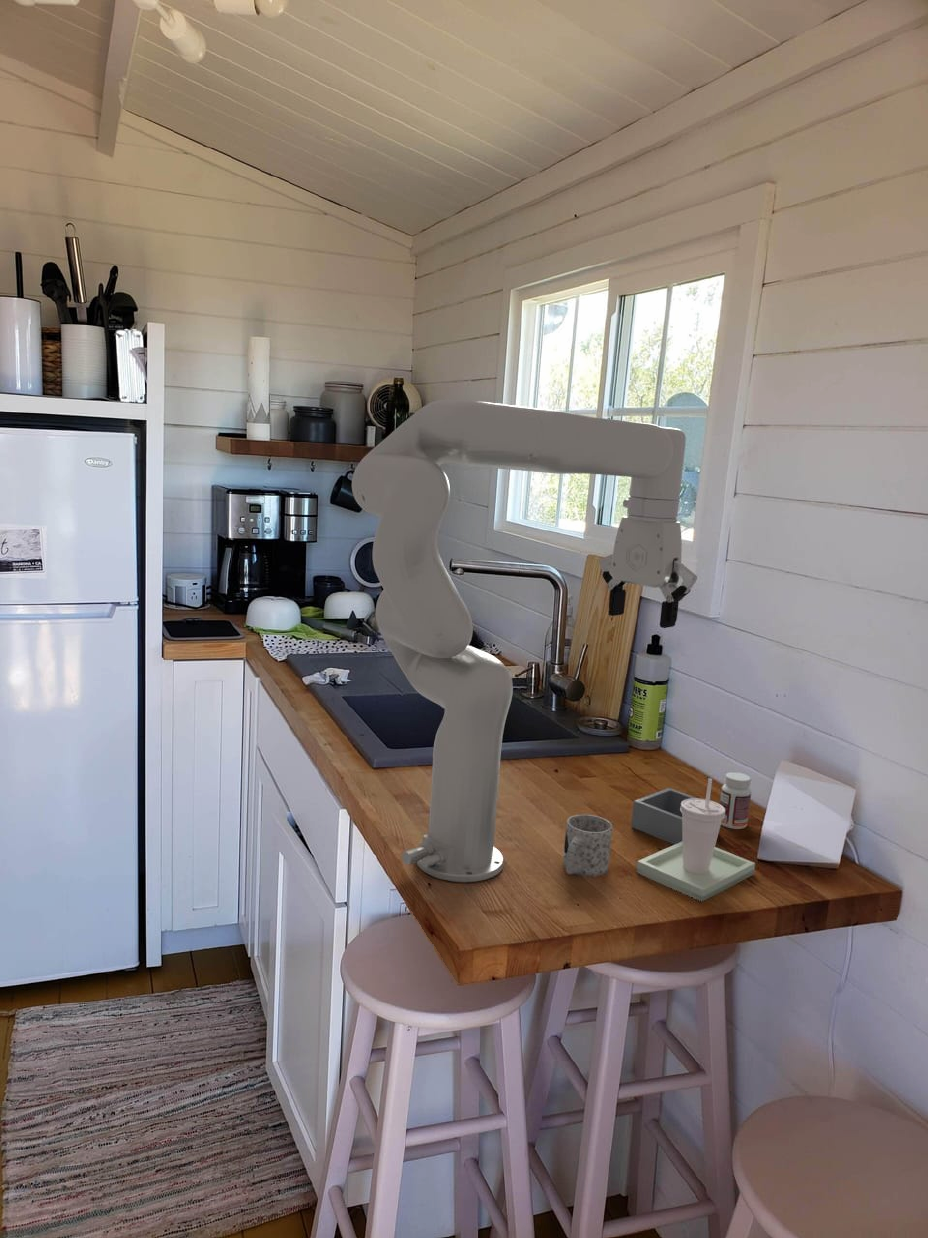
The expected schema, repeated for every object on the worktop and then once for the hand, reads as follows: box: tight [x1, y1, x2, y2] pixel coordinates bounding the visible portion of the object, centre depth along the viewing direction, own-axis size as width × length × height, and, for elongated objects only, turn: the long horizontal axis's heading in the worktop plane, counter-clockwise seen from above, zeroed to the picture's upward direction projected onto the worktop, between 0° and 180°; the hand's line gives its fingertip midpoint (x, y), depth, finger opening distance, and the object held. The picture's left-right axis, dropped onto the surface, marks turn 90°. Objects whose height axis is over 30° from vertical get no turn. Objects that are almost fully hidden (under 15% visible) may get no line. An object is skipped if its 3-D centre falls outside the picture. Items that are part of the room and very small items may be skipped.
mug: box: [562, 814, 613, 877], centre depth 139 cm, size 10×7×7 cm
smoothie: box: [680, 778, 725, 874], centre depth 139 cm, size 6×6×14 cm
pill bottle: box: [719, 772, 752, 830], centre depth 159 cm, size 5×5×8 cm
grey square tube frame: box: [630, 787, 697, 845], centre depth 156 cm, size 10×10×4 cm
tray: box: [636, 841, 756, 903], centre depth 141 cm, size 14×11×2 cm
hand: (641, 620), depth 148 cm, fingers open, 9 cm apart
